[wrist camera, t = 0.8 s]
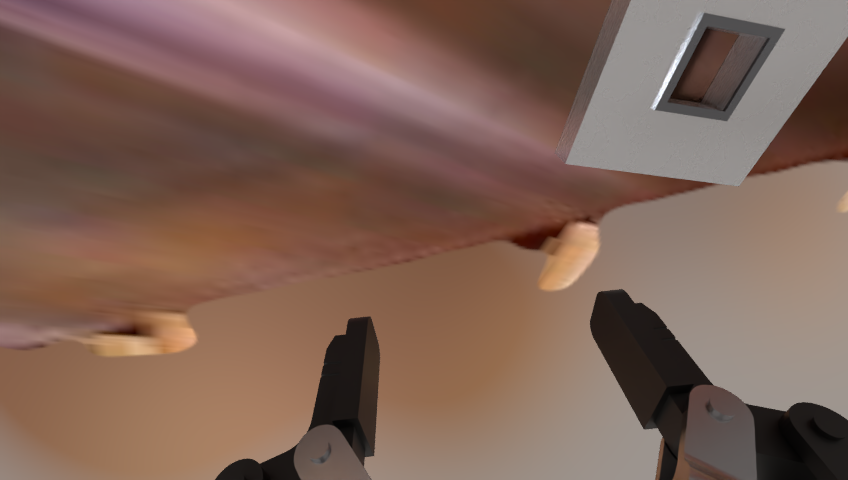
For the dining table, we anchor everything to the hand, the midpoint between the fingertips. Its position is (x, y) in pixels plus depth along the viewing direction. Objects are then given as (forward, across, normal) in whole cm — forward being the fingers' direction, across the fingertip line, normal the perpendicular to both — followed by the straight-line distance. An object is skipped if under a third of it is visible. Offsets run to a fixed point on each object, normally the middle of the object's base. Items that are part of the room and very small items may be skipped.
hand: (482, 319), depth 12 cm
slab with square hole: (+27, -25, -1) cm, 37 cm away
